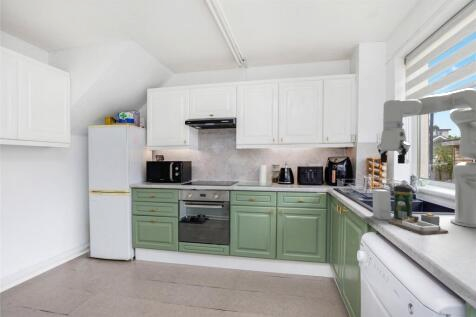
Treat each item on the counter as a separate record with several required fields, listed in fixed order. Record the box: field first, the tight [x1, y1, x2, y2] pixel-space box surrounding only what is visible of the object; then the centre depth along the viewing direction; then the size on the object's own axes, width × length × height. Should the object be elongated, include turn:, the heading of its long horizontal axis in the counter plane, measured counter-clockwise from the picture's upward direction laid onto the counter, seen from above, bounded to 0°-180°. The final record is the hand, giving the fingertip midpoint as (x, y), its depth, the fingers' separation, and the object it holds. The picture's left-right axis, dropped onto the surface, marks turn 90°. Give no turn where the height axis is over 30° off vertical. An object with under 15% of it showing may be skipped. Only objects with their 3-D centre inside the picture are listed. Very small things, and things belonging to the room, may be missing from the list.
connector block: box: [420, 212, 440, 226], centre depth 114 cm, size 5×5×6 cm
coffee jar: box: [393, 184, 413, 220], centre depth 128 cm, size 10×8×19 cm
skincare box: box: [372, 189, 392, 221], centre depth 127 cm, size 8×7×16 cm
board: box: [387, 214, 449, 236], centre depth 110 cm, size 14×18×4 cm
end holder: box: [402, 219, 441, 232], centre depth 107 cm, size 10×10×2 cm
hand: (392, 163), depth 108 cm, fingers open, 9 cm apart
